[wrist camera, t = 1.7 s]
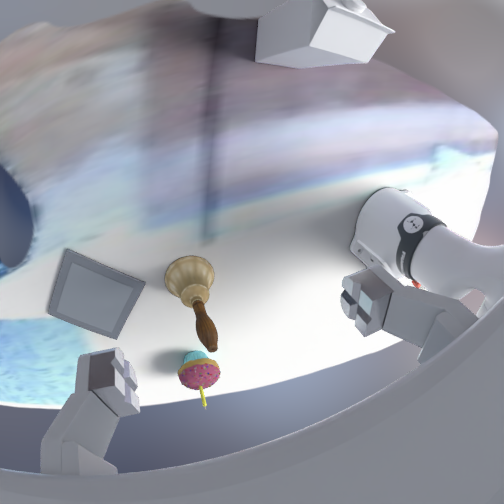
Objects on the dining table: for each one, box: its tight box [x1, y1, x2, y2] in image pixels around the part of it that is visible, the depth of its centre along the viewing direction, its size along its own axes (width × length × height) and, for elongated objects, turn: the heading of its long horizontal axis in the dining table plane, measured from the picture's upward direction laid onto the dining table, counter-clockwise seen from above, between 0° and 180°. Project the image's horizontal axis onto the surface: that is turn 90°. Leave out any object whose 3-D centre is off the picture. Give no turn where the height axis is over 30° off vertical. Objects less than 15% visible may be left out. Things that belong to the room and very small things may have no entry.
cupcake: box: [178, 351, 220, 410], centre depth 51 cm, size 9×8×12 cm
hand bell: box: [165, 256, 218, 352], centre depth 40 cm, size 8×8×16 cm
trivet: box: [48, 249, 145, 340], centre depth 41 cm, size 14×14×1 cm
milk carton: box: [255, 0, 395, 69], centre depth 24 cm, size 7×7×19 cm
